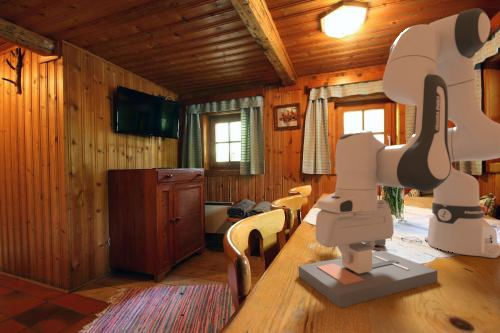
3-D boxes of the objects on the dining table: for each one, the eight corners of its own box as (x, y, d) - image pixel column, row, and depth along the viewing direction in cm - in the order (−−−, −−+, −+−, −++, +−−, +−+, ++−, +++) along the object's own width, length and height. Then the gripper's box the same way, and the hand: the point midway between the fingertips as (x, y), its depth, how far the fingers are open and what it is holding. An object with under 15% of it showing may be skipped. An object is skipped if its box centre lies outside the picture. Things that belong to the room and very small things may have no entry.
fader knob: (354, 262, 57) (354, 240, 57) (372, 270, 52) (372, 246, 52) (341, 264, 55) (341, 242, 55) (358, 273, 51) (358, 248, 51)
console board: (383, 259, 66) (382, 249, 66) (437, 281, 53) (437, 269, 53) (298, 276, 56) (298, 264, 56) (340, 308, 43) (339, 293, 43)
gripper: (377, 197, 60) (378, 250, 60) (311, 201, 53) (311, 262, 53) (400, 200, 55) (401, 259, 54) (329, 205, 47) (330, 273, 47)
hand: (356, 261), depth 54 cm, fingers closed on fader knob, 4 cm apart
